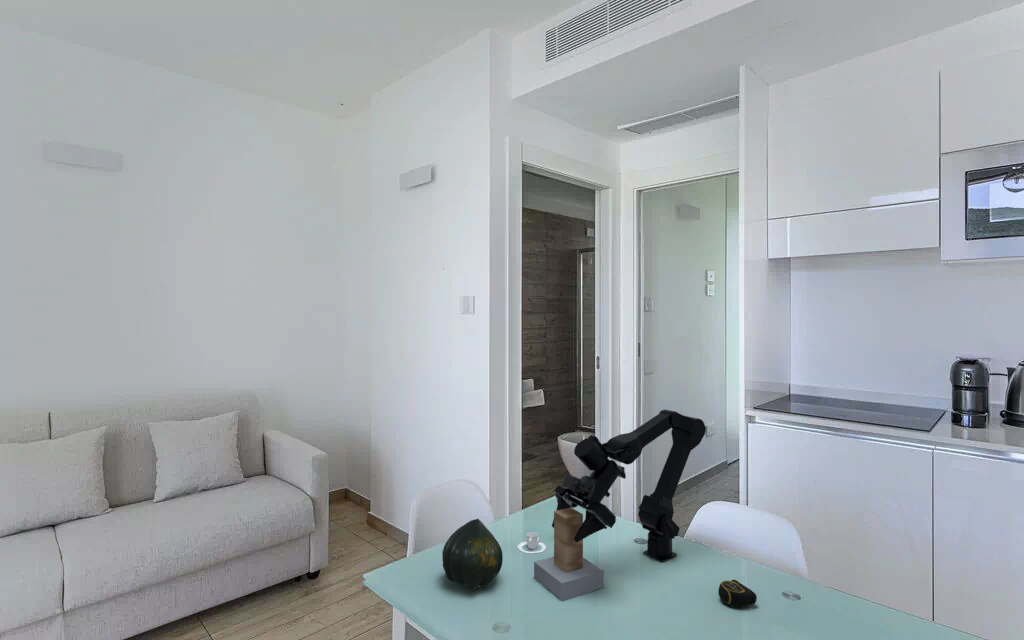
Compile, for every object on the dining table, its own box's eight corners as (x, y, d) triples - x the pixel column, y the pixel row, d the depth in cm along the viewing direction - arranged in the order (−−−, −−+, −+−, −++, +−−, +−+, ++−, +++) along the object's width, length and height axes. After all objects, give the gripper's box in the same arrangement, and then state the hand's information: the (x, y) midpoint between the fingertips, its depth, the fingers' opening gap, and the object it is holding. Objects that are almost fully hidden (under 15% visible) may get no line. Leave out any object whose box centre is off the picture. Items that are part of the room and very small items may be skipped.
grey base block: (573, 566, 137) (573, 551, 137) (603, 587, 126) (603, 570, 126) (534, 578, 131) (534, 561, 131) (561, 600, 120) (561, 583, 120)
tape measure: (758, 608, 118) (758, 591, 118) (732, 613, 116) (732, 596, 116) (736, 592, 124) (736, 577, 124) (711, 597, 122) (712, 581, 122)
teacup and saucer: (529, 539, 155) (529, 525, 154) (553, 546, 150) (553, 532, 150) (511, 550, 147) (511, 535, 147) (535, 557, 143) (535, 542, 143)
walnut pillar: (571, 559, 132) (571, 507, 132) (582, 568, 127) (582, 514, 127) (554, 564, 130) (554, 511, 129) (565, 573, 125) (565, 517, 125)
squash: (444, 581, 118) (484, 522, 123) (423, 557, 132) (459, 504, 137) (488, 612, 123) (524, 554, 128) (463, 585, 136) (497, 534, 141)
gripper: (560, 453, 138) (523, 502, 133) (606, 471, 122) (566, 528, 117) (584, 478, 142) (549, 527, 137) (632, 499, 126) (595, 556, 121)
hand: (563, 534), depth 128 cm, fingers open, 9 cm apart
